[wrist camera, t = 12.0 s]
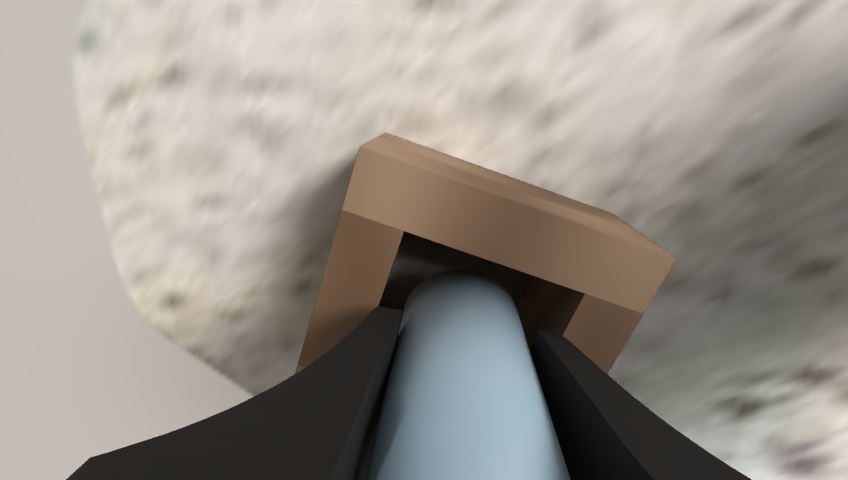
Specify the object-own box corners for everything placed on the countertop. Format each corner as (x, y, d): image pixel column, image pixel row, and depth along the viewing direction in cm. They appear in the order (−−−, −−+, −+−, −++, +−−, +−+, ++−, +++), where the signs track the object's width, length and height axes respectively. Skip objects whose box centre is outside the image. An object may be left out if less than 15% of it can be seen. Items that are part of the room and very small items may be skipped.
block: (613, 214, 14) (676, 258, 10) (517, 397, 16) (538, 487, 12) (385, 132, 13) (359, 146, 9) (324, 334, 16) (285, 408, 12)
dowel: (542, 317, 12) (659, 595, 5) (465, 389, 13) (481, 699, 6) (453, 246, 11) (458, 454, 5) (379, 327, 12) (296, 593, 6)
